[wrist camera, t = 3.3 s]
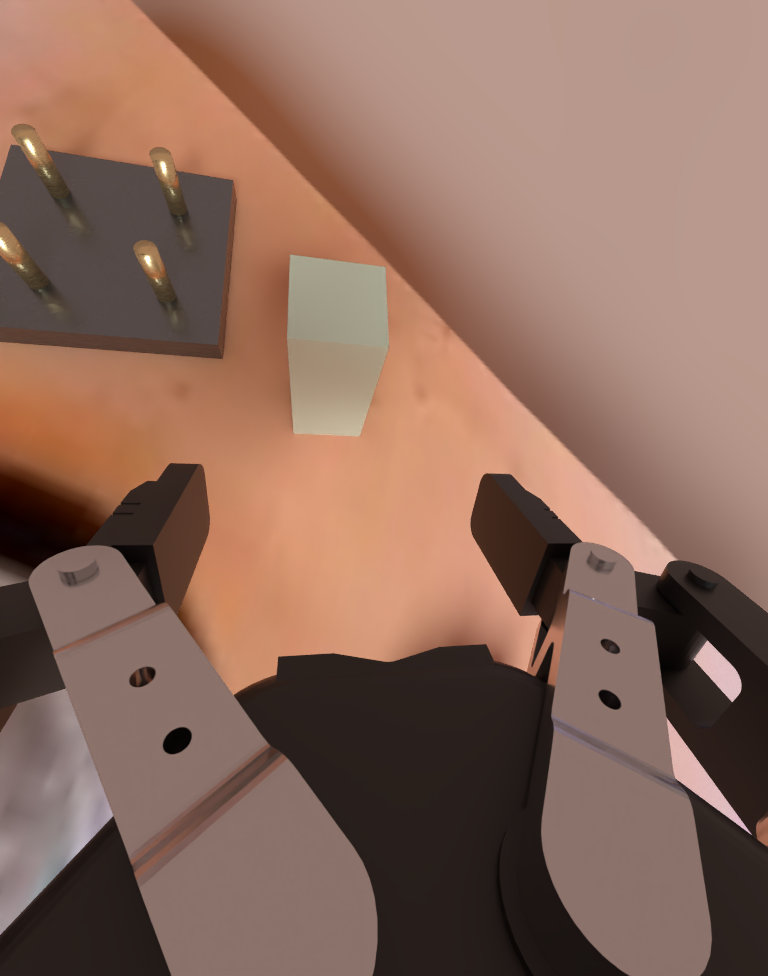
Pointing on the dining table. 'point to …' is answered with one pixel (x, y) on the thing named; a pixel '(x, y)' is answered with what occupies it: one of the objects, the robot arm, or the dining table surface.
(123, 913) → the robot arm
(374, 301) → the block
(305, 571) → the dining table surface
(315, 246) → the dining table surface
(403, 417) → the dining table surface
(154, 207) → the grey gold peg board
